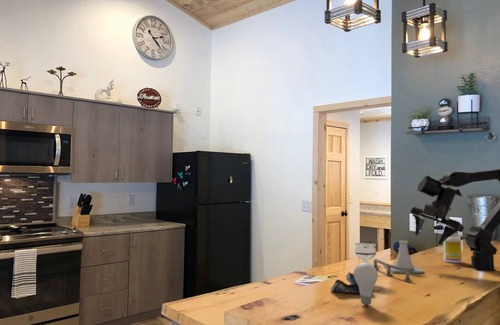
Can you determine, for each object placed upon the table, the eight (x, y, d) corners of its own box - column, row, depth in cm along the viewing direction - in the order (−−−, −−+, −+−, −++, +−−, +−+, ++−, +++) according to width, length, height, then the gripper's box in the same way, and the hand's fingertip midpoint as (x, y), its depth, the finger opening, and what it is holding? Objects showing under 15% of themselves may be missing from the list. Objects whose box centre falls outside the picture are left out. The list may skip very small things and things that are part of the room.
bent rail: (376, 268, 149) (376, 258, 149) (413, 281, 128) (413, 269, 128) (368, 268, 148) (367, 258, 149) (403, 282, 127) (403, 270, 127)
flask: (412, 271, 141) (411, 243, 141) (391, 268, 145) (390, 241, 145) (416, 267, 147) (415, 240, 147) (396, 265, 151) (395, 239, 151)
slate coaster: (413, 267, 151) (412, 265, 151) (424, 273, 140) (424, 271, 140) (384, 267, 151) (384, 265, 151) (393, 273, 140) (393, 271, 140)
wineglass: (380, 281, 128) (379, 244, 129) (371, 284, 124) (370, 246, 124) (361, 277, 133) (360, 242, 134) (351, 281, 128) (350, 244, 129)
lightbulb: (350, 302, 104) (350, 260, 105) (372, 301, 105) (372, 260, 105) (359, 309, 98) (358, 265, 99) (382, 308, 99) (381, 264, 99)
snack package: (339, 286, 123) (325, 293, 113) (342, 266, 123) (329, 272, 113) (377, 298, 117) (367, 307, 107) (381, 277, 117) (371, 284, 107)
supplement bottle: (464, 263, 160) (463, 231, 161) (448, 263, 160) (447, 231, 161) (456, 260, 166) (455, 230, 167) (440, 260, 167) (439, 230, 167)
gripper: (412, 189, 152) (396, 225, 151) (460, 203, 138) (443, 244, 137) (423, 197, 159) (408, 232, 158) (471, 212, 145) (454, 251, 144)
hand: (427, 239), depth 149 cm, fingers open, 9 cm apart
